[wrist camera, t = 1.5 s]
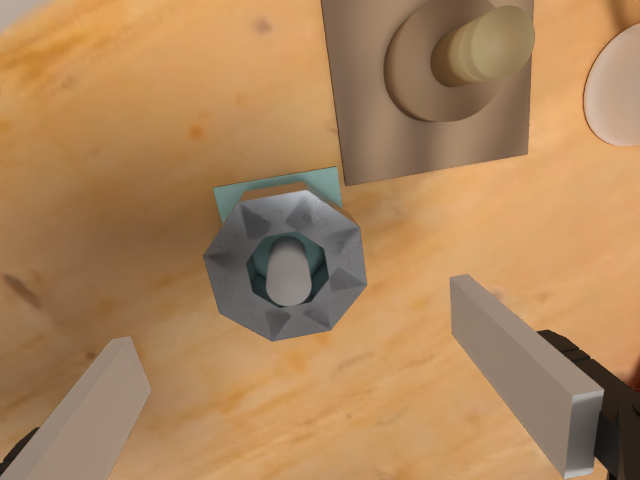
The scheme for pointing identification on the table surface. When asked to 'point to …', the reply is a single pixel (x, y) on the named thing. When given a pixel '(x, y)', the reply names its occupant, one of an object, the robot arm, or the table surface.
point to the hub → (428, 83)
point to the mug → (616, 91)
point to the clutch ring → (250, 287)
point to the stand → (284, 237)
